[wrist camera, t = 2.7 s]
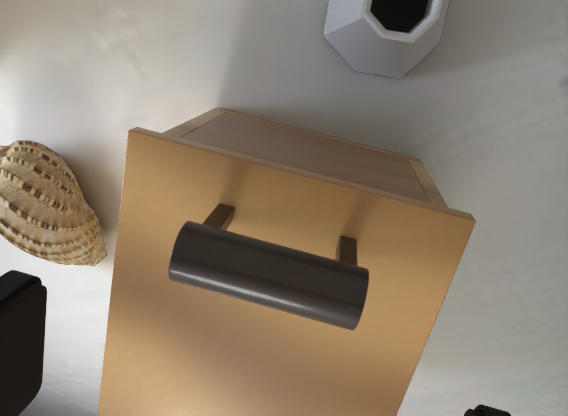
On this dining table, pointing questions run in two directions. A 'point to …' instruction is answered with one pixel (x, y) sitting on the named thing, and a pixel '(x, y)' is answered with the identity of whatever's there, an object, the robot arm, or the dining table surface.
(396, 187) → the chest
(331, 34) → the flask
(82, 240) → the seashell
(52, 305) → the dining table surface
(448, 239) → the lid
